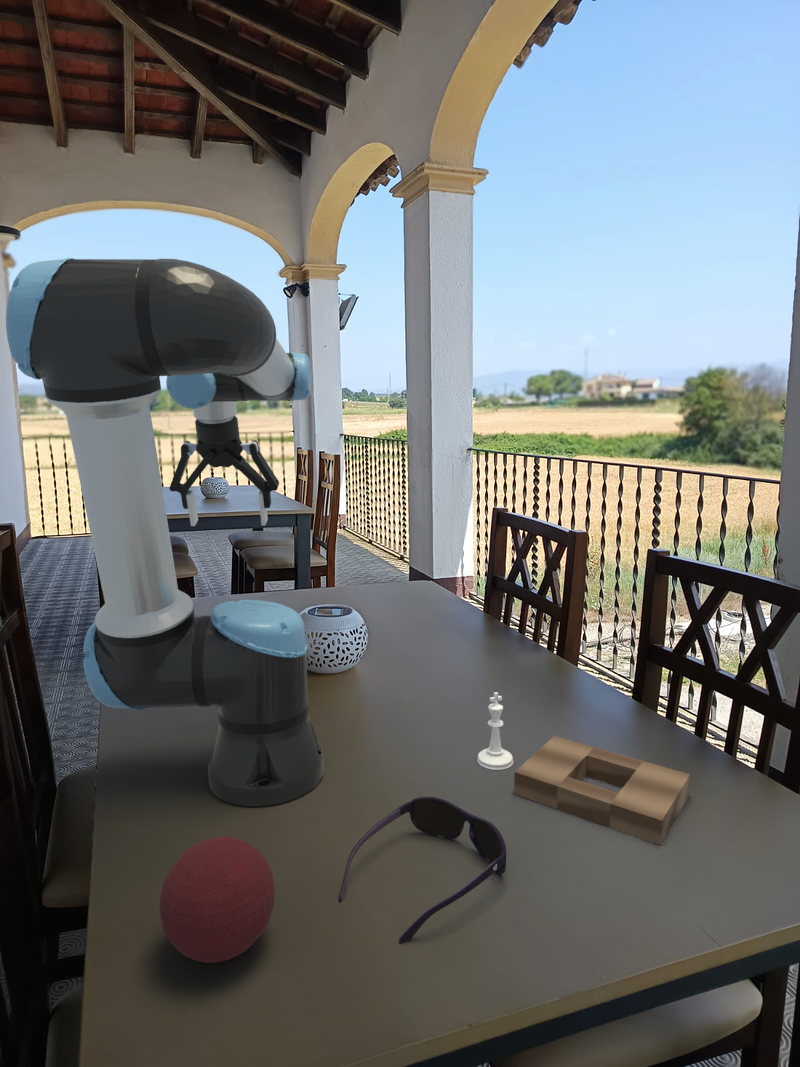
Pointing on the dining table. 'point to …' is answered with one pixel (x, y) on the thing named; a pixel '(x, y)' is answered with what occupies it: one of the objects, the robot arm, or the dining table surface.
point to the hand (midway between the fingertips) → (229, 522)
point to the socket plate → (634, 810)
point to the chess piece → (495, 741)
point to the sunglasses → (449, 824)
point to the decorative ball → (217, 899)
